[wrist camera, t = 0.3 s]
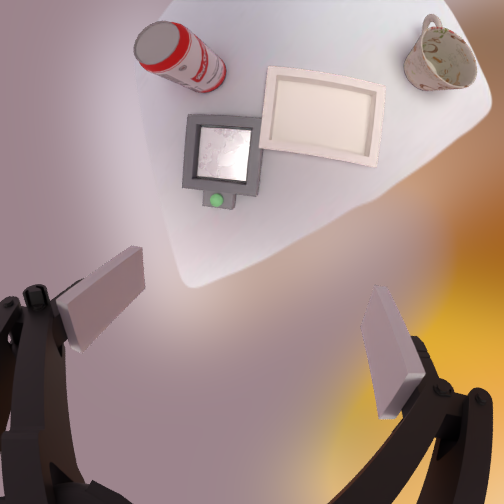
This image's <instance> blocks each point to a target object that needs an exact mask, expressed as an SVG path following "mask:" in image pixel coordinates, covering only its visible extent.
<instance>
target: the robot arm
mask: <svg viewBox="0 0 504 504" xmlns="http://www.w3.org/2000/svg"><path fill="white" fill-rule="evenodd" d="M144 289H145V279H144V267H143V252H142V247H137V246H130V247H129V248H127V249H126V250H124V251H123V252H122V253H120V254H118V255H117V256H115V257H114V258H113V259H111V260H110V261H108V262H107V263H105V264H104V265H102V266H101V267H100V268H98V269H97V270H95V271H94V272H92V273H91V274H90V275H88V276H87V277H85V278H83V279H81V280H78V281H76V282H75V283H74V284H72V285H71V287H68V288H67V289H66V290H65V291H63V292H61V293H60V294H59V295H58V296H56V297H55V298H54V299H52V300H51V301H50V299H49V296H48V292H47V288H46V286H44V285H41V284H37V285H32V286H30V287H28V288H26V289H25V290H24V291H23V296H24V300H25V303H26V306H27V307H24V306H21V304H20V301H19V299H18V298H17V297H14V296H13V297H10V296H9V297H6V298H5V299H4V300H2V301H1V302H0V453H1V461H2V476H3V486H4V494H5V496H4V497H0V504H132V503H131V502H130V501H128V500H127V499H126V498H124V497H123V496H122V495H120V494H118V493H116V492H114V491H112V490H110V489H108V488H106V487H104V486H103V485H101V484H99V483H97V482H95V481H93V480H92V481H91V483H90V484H85V481H84V479H83V477H82V475H81V473H80V471H79V469H78V467H77V463H76V458H75V453H74V448H73V442H72V435H71V429H70V421H69V412H68V403H67V390H66V367H65V346H64V342H65V341H66V340H67V339H68V341H69V344H70V347H71V348H72V349H74V350H76V351H78V352H80V353H83V352H84V351H85V350H86V349H87V348H88V347H89V345H91V344H92V343H93V341H94V340H95V339H96V338H97V337H98V336H99V335H100V334H101V333H102V332H103V331H104V330H105V329H106V328H107V327H108V326H109V325H110V324H111V323H112V321H114V319H116V318H117V316H118V315H119V314H120V313H121V312H122V311H123V310H124V309H125V308H126V307H127V306H128V305H129V304H130V303H131V302H132V301H133V300H134V299H135V298H136V297H137V296H138V295H139V294H140V293H141V292H142V291H143V290H144ZM361 331H362V335H363V340H364V344H365V348H366V353H367V357H368V362H369V367H370V372H371V377H372V382H373V387H374V393H375V399H376V404H377V411H378V417H379V419H395V418H396V417H397V415H398V414H399V413H400V411H402V415H403V419H402V420H401V421H400V422H399V424H398V425H397V426H396V428H395V429H394V430H393V431H392V433H391V435H390V436H389V437H388V439H387V440H386V441H385V442H384V444H383V445H382V446H381V448H380V449H379V450H378V451H377V452H376V453H375V455H374V456H373V457H372V458H371V460H370V461H369V462H368V463H367V464H366V465H365V466H364V468H363V469H362V470H361V471H360V472H359V473H358V474H357V475H356V476H355V477H354V478H353V479H352V480H351V482H349V483H348V484H347V485H346V486H345V487H344V489H342V490H341V491H340V492H339V493H338V494H337V495H336V496H335V497H334V498H333V499H332V500H331V501H330V502H329V503H328V504H392V502H393V501H394V500H395V498H396V497H397V496H398V494H399V493H400V492H401V490H402V489H403V487H404V486H405V485H406V483H407V482H408V480H409V479H410V477H411V476H412V474H413V473H414V471H415V470H416V468H417V467H418V465H419V463H420V461H421V460H422V458H423V457H424V455H425V453H426V452H427V450H428V448H429V446H430V445H431V443H432V441H433V439H434V437H435V438H436V442H435V446H434V450H433V454H432V458H431V461H430V465H429V469H428V472H427V475H426V478H425V481H424V484H423V487H422V490H421V493H420V496H419V498H418V501H417V504H484V502H485V497H486V492H487V486H488V480H489V472H490V463H491V453H492V438H493V402H492V398H491V396H490V394H489V393H488V392H487V391H486V390H484V389H482V388H473V389H472V390H471V391H470V392H469V394H468V395H463V394H459V393H455V392H454V389H453V387H452V386H451V384H450V383H448V382H447V381H446V380H444V379H441V378H439V376H438V374H437V372H436V369H435V367H434V365H433V362H432V360H431V359H430V355H429V353H428V352H427V349H426V347H425V345H424V343H423V342H422V341H421V340H420V339H419V338H418V337H417V336H410V334H409V332H408V330H407V328H406V325H405V323H404V321H403V319H402V317H401V315H400V312H399V310H398V308H397V306H396V304H395V302H394V300H393V298H392V296H391V294H390V292H389V290H388V288H387V287H386V286H379V285H374V288H373V291H372V294H371V297H370V300H369V303H368V306H367V309H366V312H365V315H364V318H363V321H362V323H361ZM8 335H10V337H11V341H10V343H9V342H8ZM10 411H11V427H10V430H9V431H5V430H6V426H7V422H8V419H9V415H10Z"/></svg>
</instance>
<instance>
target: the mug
mask: <svg viewBox="0 0 504 504" xmlns="http://www.w3.org/2000/svg"><path fill="white" fill-rule="evenodd" d="M430 22H434V23H435V25H436V27H431V28H428V26H429V24H430ZM404 71H405V74H406V76H407V78H408V80H409V81H410V82H411V83H412V84H413V85H414V86H415V87H417V88H419V89H421V90H424V91H432V90H446V89H462V88H466V87H469V86H470V85H471V84H472V83H473V82H474V81H475V79H476V75H477V65H476V61H475V58H474V55H473V53H472V51H471V49H470V48H469V46H468V45H467V44H466V42H465V41H464V40H463V39H462V38H461V37H460V36H458V35H457V34H456V33H454V32H453V31H451V30H449V29H446V28H443V27H442V24H441V21H440V19H439V18H438V17H437V16H436V15H434V14H429V15H427V16H426V17H425V19H424V22H423V27H422V35H421V36H420V38H419V40H418V41H417V43H416V44H415V46H414V47H413V49H412V51H411V52H410V54H409V55H408V57H407V58H406V60H405V63H404Z"/></svg>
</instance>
